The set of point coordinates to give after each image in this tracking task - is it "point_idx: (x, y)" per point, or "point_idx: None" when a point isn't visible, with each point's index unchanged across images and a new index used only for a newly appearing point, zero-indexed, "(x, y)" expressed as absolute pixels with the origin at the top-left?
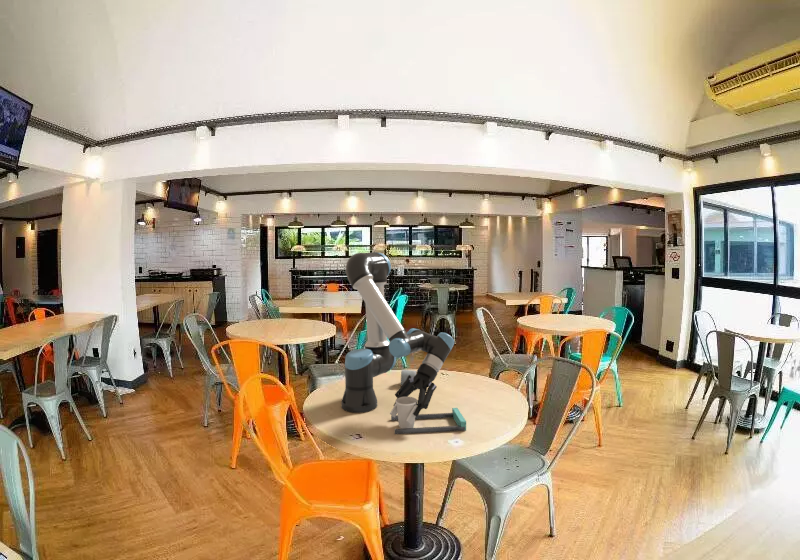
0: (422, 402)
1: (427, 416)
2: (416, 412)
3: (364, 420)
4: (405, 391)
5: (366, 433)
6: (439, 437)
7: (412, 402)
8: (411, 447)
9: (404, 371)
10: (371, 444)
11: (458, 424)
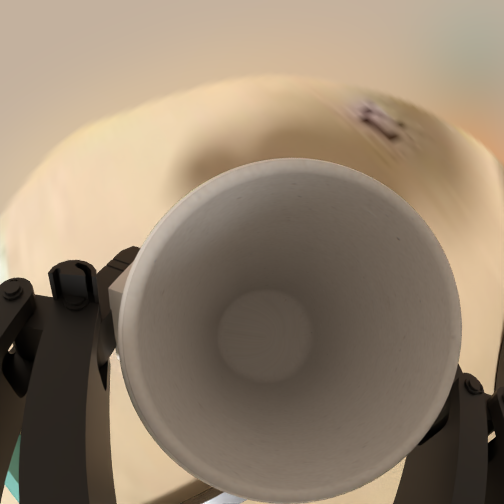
0: (13, 316)
1: (202, 499)
2: (115, 256)
3: (468, 263)
4: (463, 485)
5: (376, 152)
6: (38, 286)
7: (278, 454)
8: (125, 134)
9: None
10: (289, 89)
11: (17, 443)
